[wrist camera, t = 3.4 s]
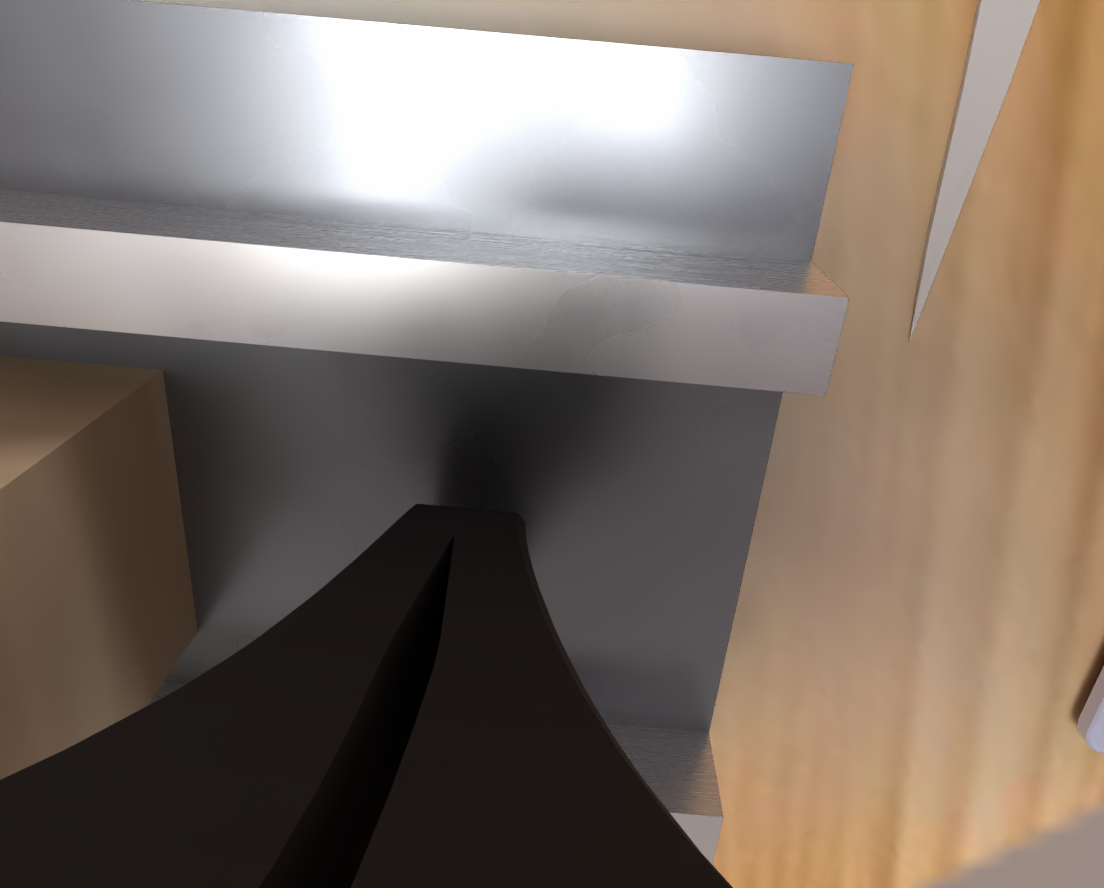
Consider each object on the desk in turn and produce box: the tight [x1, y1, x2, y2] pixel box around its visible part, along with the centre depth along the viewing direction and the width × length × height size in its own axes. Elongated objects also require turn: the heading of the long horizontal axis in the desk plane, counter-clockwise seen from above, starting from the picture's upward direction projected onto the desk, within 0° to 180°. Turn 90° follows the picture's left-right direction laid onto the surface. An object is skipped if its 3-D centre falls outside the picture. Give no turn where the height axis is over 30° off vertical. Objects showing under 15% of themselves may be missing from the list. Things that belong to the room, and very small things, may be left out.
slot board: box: [0, 0, 854, 864], centre depth 12 cm, size 16×12×4 cm
